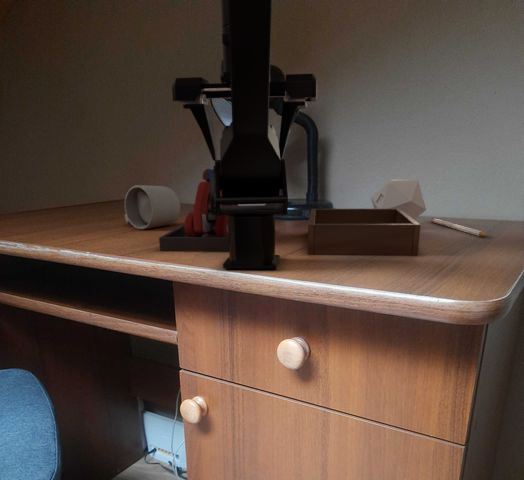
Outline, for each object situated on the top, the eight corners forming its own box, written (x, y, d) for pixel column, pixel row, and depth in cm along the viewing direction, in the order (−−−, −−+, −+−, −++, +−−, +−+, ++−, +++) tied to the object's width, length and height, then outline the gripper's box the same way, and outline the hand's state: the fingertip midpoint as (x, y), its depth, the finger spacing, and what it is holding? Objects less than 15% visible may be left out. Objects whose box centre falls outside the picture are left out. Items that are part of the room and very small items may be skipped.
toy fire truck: (178, 242, 75) (172, 169, 71) (218, 230, 86) (215, 166, 82) (217, 245, 72) (213, 169, 69) (254, 232, 83) (253, 166, 79)
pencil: (434, 221, 94) (435, 218, 94) (489, 237, 77) (489, 233, 77) (430, 221, 94) (431, 218, 94) (484, 237, 77) (484, 233, 77)
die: (376, 225, 96) (358, 184, 89) (419, 201, 94) (404, 157, 87) (391, 248, 89) (374, 206, 83) (438, 223, 87) (423, 177, 81)
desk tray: (250, 251, 70) (250, 237, 69) (159, 250, 71) (158, 237, 70) (265, 230, 87) (265, 219, 87) (192, 230, 89) (191, 219, 88)
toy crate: (417, 255, 66) (420, 224, 64) (307, 254, 67) (308, 224, 66) (398, 233, 83) (400, 208, 81) (310, 232, 84) (311, 208, 83)
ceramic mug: (185, 225, 95) (181, 183, 92) (154, 230, 88) (149, 185, 85) (146, 222, 100) (142, 182, 97) (114, 227, 94) (109, 185, 91)
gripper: (318, 38, 69) (315, 158, 75) (188, 43, 71) (195, 159, 77) (318, 19, 59) (314, 159, 65) (166, 26, 61) (176, 161, 67)
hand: (247, 160), depth 69 cm, fingers open, 9 cm apart
